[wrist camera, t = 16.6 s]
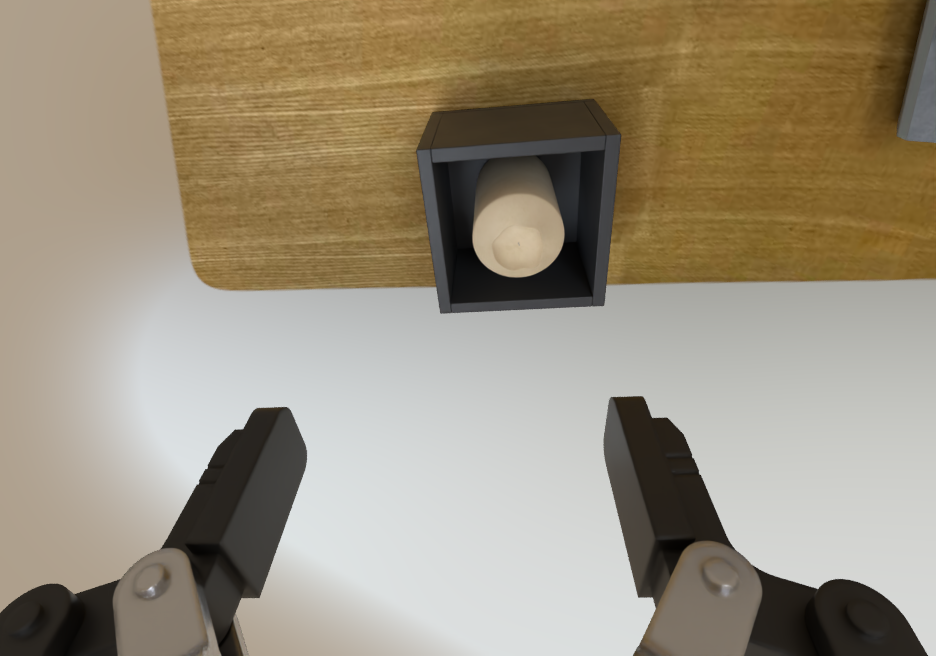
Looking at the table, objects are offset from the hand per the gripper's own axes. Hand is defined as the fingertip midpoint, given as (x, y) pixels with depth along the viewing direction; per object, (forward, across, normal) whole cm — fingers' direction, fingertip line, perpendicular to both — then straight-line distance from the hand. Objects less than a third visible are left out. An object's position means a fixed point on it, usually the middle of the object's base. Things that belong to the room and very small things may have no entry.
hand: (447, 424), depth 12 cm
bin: (+27, -3, +4) cm, 28 cm away
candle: (+27, -3, +4) cm, 27 cm away
